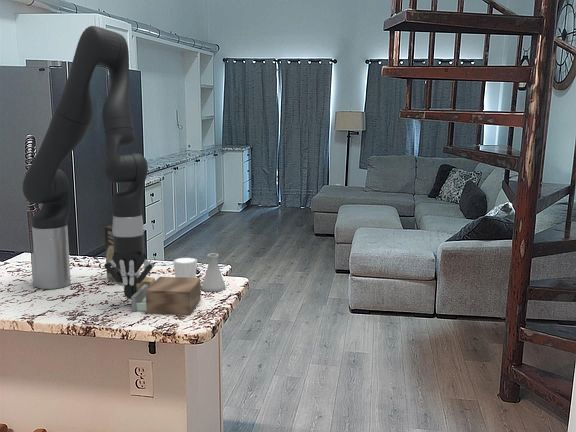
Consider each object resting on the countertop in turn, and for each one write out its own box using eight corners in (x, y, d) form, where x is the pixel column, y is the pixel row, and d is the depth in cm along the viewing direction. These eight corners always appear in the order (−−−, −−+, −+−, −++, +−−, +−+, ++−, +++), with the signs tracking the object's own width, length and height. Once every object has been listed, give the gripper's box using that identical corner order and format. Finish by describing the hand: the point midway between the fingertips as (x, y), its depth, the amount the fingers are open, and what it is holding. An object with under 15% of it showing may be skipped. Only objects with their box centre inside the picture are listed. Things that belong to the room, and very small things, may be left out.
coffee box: (105, 278, 172) (103, 226, 169) (124, 274, 176) (122, 223, 173) (122, 285, 165) (120, 231, 162) (141, 281, 170) (139, 227, 167)
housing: (146, 313, 143) (145, 290, 142) (160, 297, 155) (159, 276, 154) (190, 315, 143) (189, 292, 142) (200, 299, 154) (200, 278, 153)
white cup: (175, 279, 172) (174, 257, 170) (198, 279, 172) (198, 257, 171) (172, 286, 165) (171, 263, 164) (196, 286, 166) (196, 263, 164)
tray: (131, 311, 144) (131, 296, 144) (144, 298, 155) (144, 284, 154) (174, 313, 144) (174, 298, 143) (184, 299, 154) (184, 285, 153)
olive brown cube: (136, 293, 158) (136, 281, 158) (141, 289, 162) (140, 277, 162) (150, 294, 158) (150, 281, 158) (155, 289, 162) (154, 277, 162)
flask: (221, 293, 160) (221, 258, 158) (196, 291, 161) (196, 257, 159) (229, 285, 167) (229, 252, 165) (205, 284, 168) (205, 250, 166)
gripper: (158, 230, 149) (160, 294, 152) (108, 228, 150) (111, 292, 153) (149, 236, 142) (151, 303, 145) (97, 235, 143) (100, 301, 146)
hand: (130, 297), depth 149 cm, fingers closed
